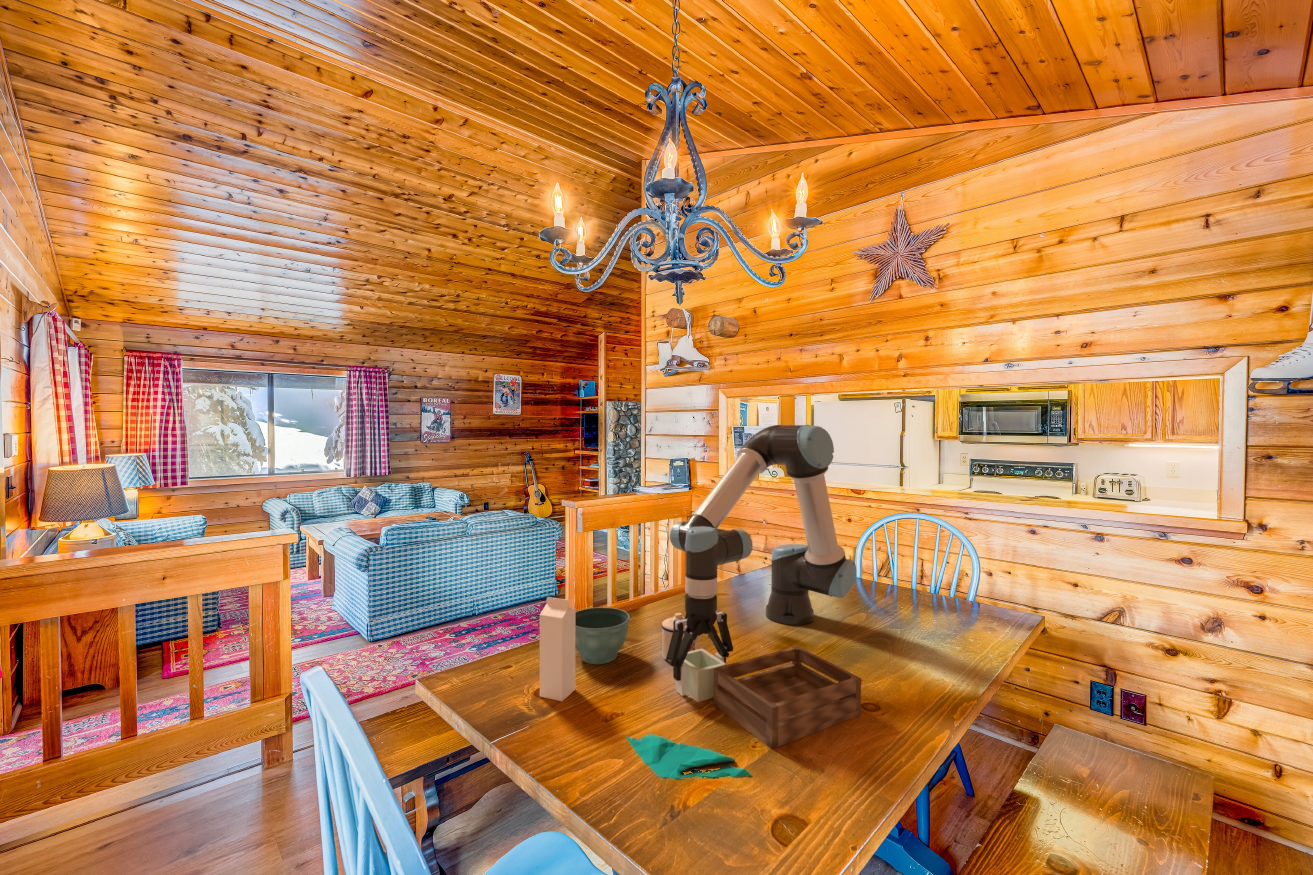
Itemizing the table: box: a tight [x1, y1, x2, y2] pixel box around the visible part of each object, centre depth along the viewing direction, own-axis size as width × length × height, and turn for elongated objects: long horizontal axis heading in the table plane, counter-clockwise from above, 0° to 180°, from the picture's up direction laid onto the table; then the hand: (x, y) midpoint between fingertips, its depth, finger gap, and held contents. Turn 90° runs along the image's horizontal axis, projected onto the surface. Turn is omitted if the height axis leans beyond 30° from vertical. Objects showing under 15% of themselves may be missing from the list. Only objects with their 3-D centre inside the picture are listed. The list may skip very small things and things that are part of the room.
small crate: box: [673, 647, 728, 703], centre depth 127 cm, size 8×10×7 cm
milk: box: [539, 596, 576, 702], centre depth 124 cm, size 6×6×22 cm
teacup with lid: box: [661, 612, 701, 661], centre depth 145 cm, size 12×9×12 cm
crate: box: [713, 645, 862, 750], centre depth 118 cm, size 25×19×8 cm
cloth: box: [625, 733, 754, 780], centre depth 101 cm, size 26×14×2 cm, turn 51°
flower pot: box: [575, 606, 630, 665], centre depth 144 cm, size 16×16×11 cm
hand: (700, 687), depth 127 cm, fingers open, 10 cm apart
